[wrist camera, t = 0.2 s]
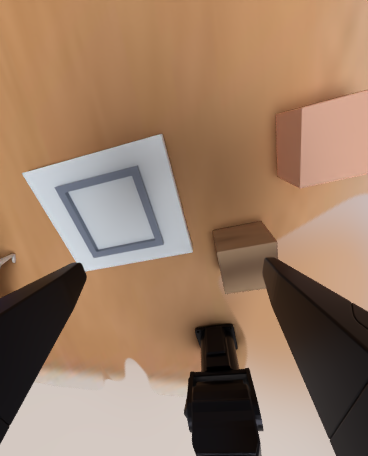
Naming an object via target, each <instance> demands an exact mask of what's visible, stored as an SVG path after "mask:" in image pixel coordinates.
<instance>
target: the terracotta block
mask: <svg viewBox="0 0 368 456" xmlns="http://www.w3.org/2000/svg"><path fill="white" fill-rule="evenodd" d="M276 144H277V177H279V178H281V179H283V180H285V181H287V182H289V183H291V184H293V185H294V186H296V187H298V188H304V187H309V186H313V185H318V184H323V183H328V182H332V181H337V180H342V179H347V178H351V177H356V176H361V175H365V174H368V90H364V91H360V92H356V93H352V94H348V95H345V96H341V97H337V98H333V99H330V100H326V101H322V102H319V103H315V104H311V105H308V106H304V107H300V108H297V109H293V110H289V111H286V112H282V113H278V114H276Z"/></svg>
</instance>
